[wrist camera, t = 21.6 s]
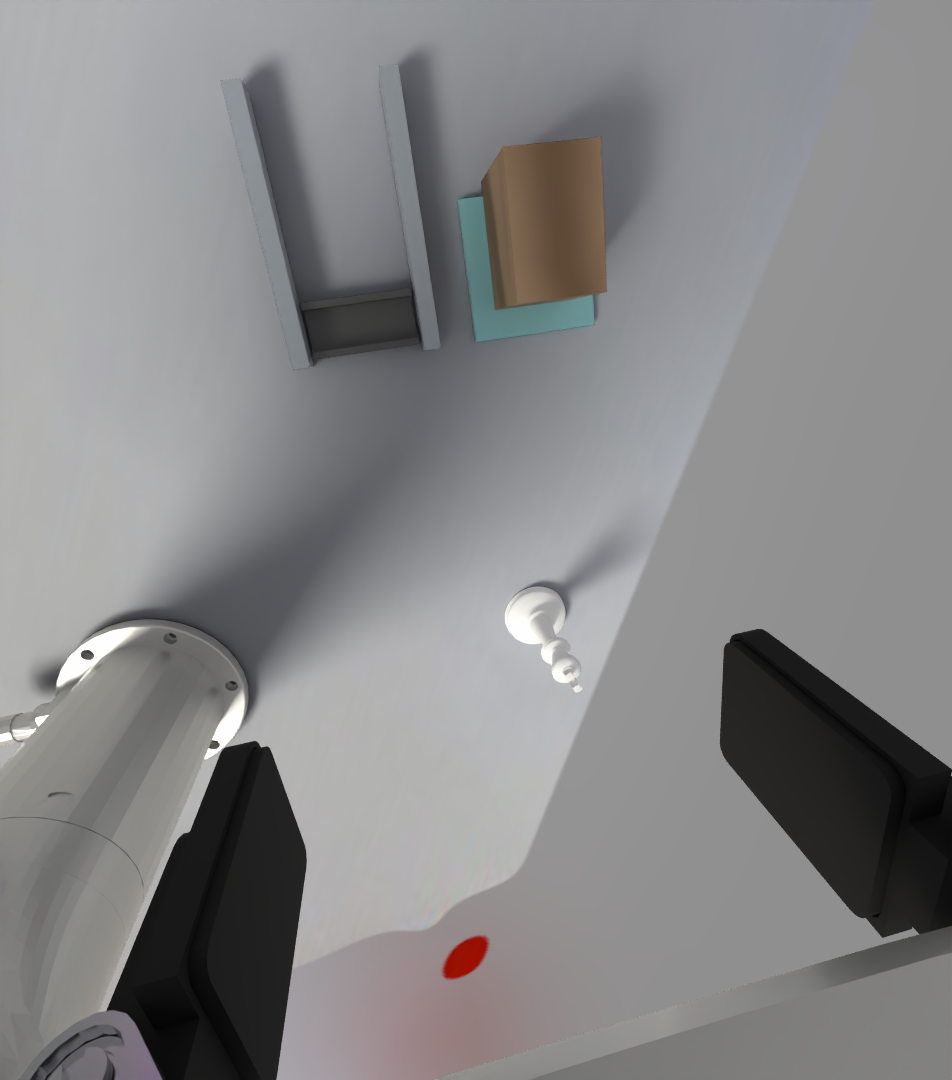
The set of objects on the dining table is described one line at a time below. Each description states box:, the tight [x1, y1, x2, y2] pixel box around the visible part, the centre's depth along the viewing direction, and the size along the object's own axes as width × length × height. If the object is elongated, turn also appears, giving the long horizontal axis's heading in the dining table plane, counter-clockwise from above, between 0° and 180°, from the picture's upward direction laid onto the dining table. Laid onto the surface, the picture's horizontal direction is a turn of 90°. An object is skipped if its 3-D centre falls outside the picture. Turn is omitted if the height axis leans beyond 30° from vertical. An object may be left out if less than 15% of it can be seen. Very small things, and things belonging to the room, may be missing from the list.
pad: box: [457, 196, 595, 342], centre depth 33 cm, size 8×8×1 cm
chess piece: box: [505, 586, 582, 693], centre depth 38 cm, size 5×5×10 cm
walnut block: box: [481, 137, 607, 310], centre depth 30 cm, size 5×7×6 cm
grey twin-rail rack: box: [220, 65, 441, 370], centre depth 31 cm, size 9×14×2 cm, turn 7°
